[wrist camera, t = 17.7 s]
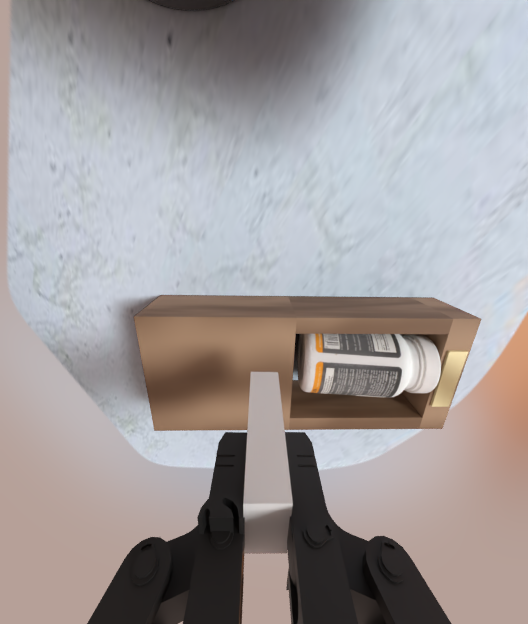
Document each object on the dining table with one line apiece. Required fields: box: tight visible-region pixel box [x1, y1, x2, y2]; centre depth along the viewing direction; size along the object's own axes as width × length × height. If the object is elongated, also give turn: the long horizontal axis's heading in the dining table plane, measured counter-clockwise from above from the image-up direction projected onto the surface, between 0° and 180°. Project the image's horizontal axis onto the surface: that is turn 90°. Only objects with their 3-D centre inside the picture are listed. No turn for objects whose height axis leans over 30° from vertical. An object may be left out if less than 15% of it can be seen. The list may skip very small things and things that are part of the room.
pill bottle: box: [298, 334, 441, 398], centre depth 20 cm, size 6×6×10 cm
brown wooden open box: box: [134, 295, 481, 431], centre depth 21 cm, size 10×24×5 cm, turn 89°
